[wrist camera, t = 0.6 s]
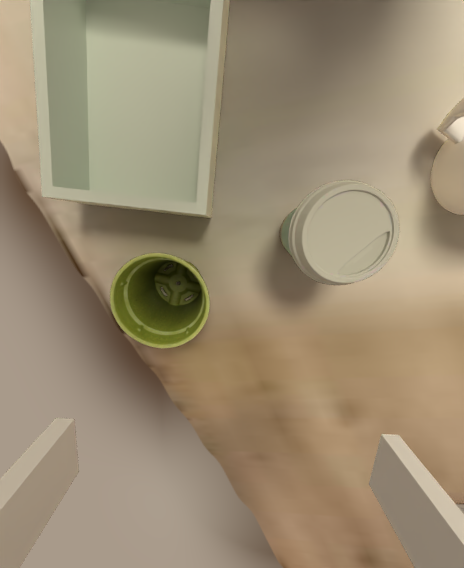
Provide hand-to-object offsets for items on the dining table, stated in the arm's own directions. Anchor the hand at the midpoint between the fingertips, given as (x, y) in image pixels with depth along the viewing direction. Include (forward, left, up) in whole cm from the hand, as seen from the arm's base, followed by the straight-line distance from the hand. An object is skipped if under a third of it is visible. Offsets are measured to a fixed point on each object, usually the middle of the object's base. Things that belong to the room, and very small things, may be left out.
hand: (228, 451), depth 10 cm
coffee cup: (-10, +8, -22) cm, 26 cm away
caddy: (-21, -11, -22) cm, 32 cm away
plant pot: (-2, -7, -22) cm, 23 cm away
